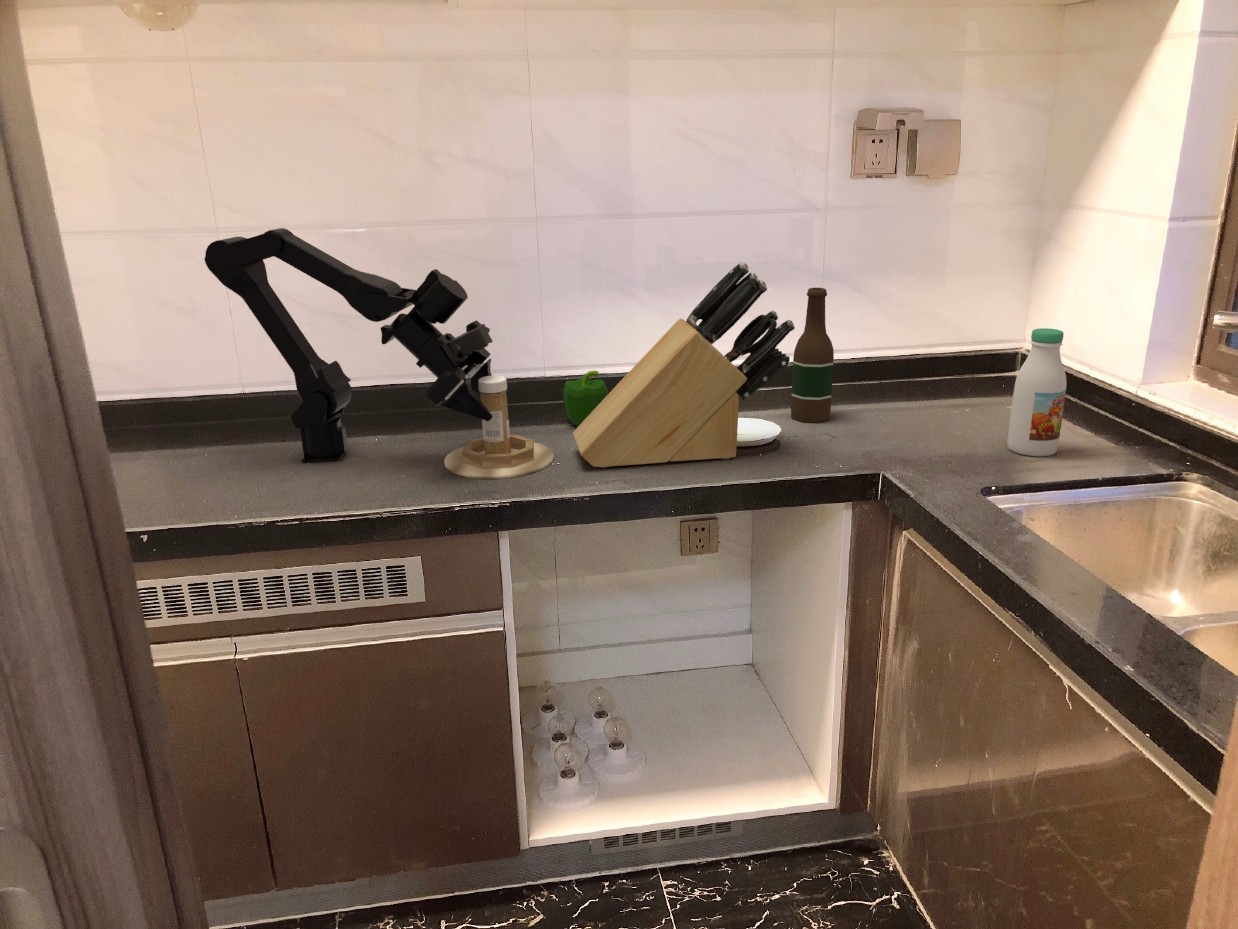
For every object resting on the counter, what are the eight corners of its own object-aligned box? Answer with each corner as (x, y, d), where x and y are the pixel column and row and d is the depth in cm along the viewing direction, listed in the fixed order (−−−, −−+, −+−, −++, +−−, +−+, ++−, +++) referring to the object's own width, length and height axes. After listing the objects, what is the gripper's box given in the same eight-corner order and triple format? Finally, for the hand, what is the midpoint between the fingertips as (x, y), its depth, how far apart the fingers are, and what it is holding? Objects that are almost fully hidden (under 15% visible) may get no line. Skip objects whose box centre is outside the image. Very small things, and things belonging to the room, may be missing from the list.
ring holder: (438, 481, 143) (437, 465, 143) (450, 445, 160) (449, 431, 160) (553, 476, 144) (552, 461, 144) (553, 441, 161) (553, 427, 161)
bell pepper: (556, 427, 169) (553, 375, 166) (573, 415, 176) (571, 364, 173) (598, 431, 166) (597, 378, 163) (614, 418, 173) (613, 367, 170)
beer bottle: (800, 409, 177) (806, 284, 169) (838, 415, 172) (846, 287, 164) (782, 419, 171) (787, 289, 163) (821, 426, 166) (828, 293, 158)
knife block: (792, 456, 151) (801, 266, 141) (580, 472, 146) (573, 276, 136) (771, 435, 162) (777, 257, 151) (572, 450, 157) (565, 266, 146)
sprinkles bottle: (517, 454, 153) (512, 376, 148) (501, 463, 149) (495, 382, 145) (494, 450, 155) (489, 373, 150) (478, 458, 151) (472, 379, 147)
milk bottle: (1007, 455, 150) (1022, 333, 143) (1005, 440, 156) (1020, 324, 150) (1058, 459, 147) (1077, 336, 140) (1055, 445, 154) (1072, 326, 147)
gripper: (440, 319, 136) (517, 392, 138) (474, 298, 153) (542, 363, 156) (394, 370, 139) (470, 441, 142) (433, 344, 157) (499, 407, 159)
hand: (498, 410), depth 150 cm, fingers open, 9 cm apart
